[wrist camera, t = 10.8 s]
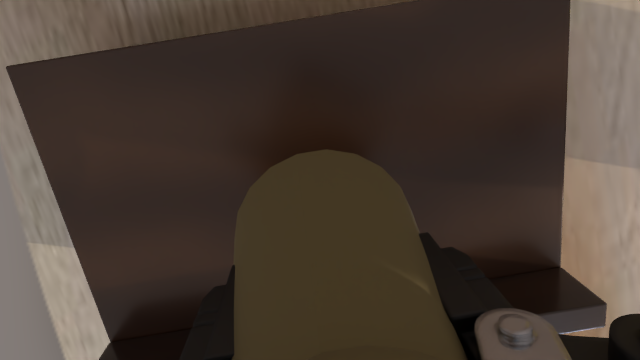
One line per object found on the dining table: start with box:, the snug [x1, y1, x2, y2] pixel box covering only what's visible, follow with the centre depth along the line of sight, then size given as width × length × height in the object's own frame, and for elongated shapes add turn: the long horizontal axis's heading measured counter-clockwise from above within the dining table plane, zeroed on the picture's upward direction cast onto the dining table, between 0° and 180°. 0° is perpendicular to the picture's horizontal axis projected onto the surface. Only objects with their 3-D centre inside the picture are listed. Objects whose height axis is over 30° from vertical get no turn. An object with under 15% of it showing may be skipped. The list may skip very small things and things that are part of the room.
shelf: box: [6, 0, 607, 360], centre depth 21 cm, size 14×22×13 cm, turn 99°
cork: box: [232, 149, 468, 360], centre depth 8 cm, size 6×6×11 cm
